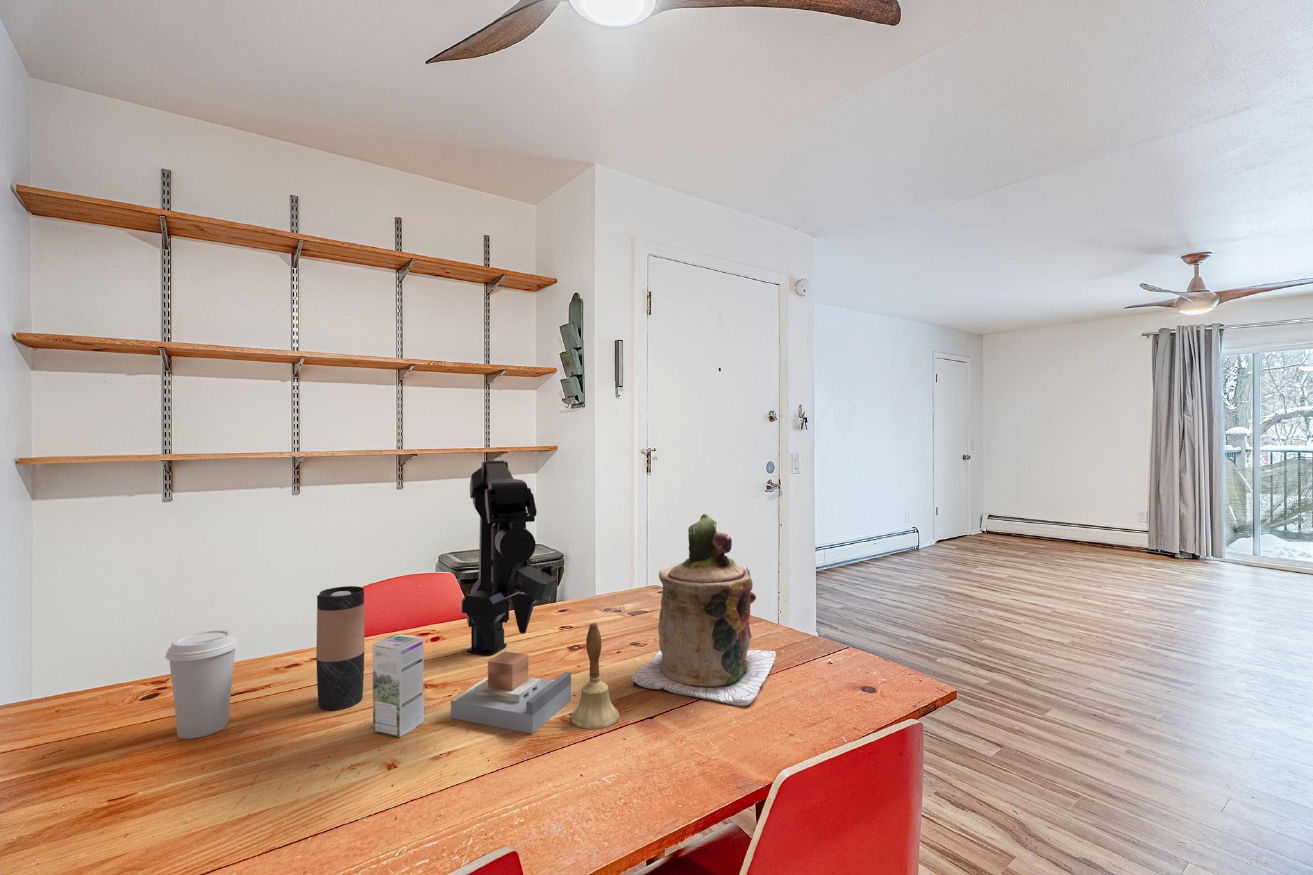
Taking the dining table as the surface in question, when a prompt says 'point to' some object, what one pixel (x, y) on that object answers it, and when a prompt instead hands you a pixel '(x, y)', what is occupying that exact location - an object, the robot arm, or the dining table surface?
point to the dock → (514, 706)
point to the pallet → (506, 693)
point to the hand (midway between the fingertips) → (508, 641)
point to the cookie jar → (707, 626)
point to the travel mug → (340, 647)
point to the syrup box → (398, 684)
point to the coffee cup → (202, 681)
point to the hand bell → (594, 691)
